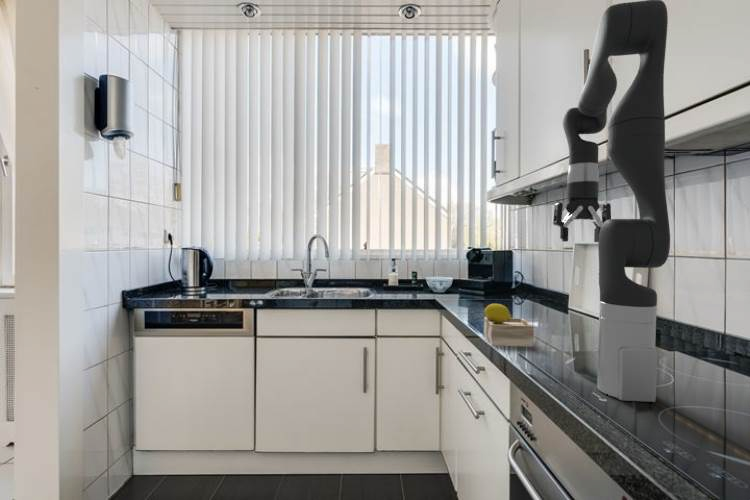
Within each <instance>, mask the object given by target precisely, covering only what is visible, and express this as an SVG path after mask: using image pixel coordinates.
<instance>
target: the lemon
mask: <svg viewBox="0 0 750 500" xmlns="http://www.w3.org/2000/svg"><path fill="white" fill-rule="evenodd" d="M483 311H484V315H485V317H487V318H488V319H489V320H491V321H493V322H496V323H504V322H506V321H507V320H508V319H510V318H512V315H511V313H510V311H509V309H508V307H507V306H505V305H503V304H500V303H491V304H488V305H487V306H486V307H485V308H484V310H483Z"/></svg>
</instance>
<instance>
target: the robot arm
mask: <svg viewBox="0 0 750 500" xmlns="http://www.w3.org/2000/svg"><path fill="white" fill-rule="evenodd" d="M668 18H669V17H668V8H667V5H666V4H665V2H664V1H663V0H640V1H631V2H622V3H617V4H613V5H610V6H609V7H608V8H606V10H605V11H604V13H603V15H602V16H601V18H600V21H599V24H598V27H597V31H596V35H595V38H594V42H593V43H594V44H593V48H592V52H591V57H590V61H589V66H588V67H589V68H588V71H587V76H586V79H585V83H584V85H583V88H582V90H581V92H580V94H579V95H580V96H579V97H578V99H577V107H571V108H568V110H566V111H565V113H564V115H563V117H562V126H563V127H562V129H563V131H564V135H565V138H566V141H567V146H568V169H567V170H568V171H567V178H566V182H567V187H566V188H567V190H566V191H567V192H566V198H567V200H566V203H563V202H557V203H555V204H554V209H553V210H554V211H553V221H552V223H553V226H558V227H559V228H560V230H559V231H560V233H559V235H560V236H559V238H560V240H561V241H562V242H566V243H567V242H568V241H569V227H568V226H569V225H570V224H571V223H572V222H574V220H583V221H584V220H588V221H589V222H590V223H592V225H593V226H594V227H595V228H594V233H593V235H594V237H593V240H594V241H593V242H594V243H598V245H597V246H598V247H597V248H598V284H599V285H598V287H599V312H598V314H599V315H598V316H599V317H598V341H597V343H598V346H597V380H596V381H597V382H596V383H597V385H596V388H597V390H599V391H600V392H602V393H603V394H605V395H607V394H608V396H610V397H614V398H616V399H617V400H619V401H627V402H630V401H632V402H648V403H649V402H652V403H656V401H657V398H656V397H657V373H658V372H657V371H658V370H657V369H658V368H657V367H658V350H657V349H656V336H657V335H656V331H657V308H658V307H657V305H658V294H657V291H656V290H655V289H653V288H651V287H648V286H645V285H642V284H639V283H637V282H635V281H633V280H632V279H630V278H629V277H628V276H627V275H626V268H639V269H641V268H644V269H656V268H660V267H663V265H664V264H666V262H667V260H668V257H669V255H670V249H671V230H670V220H669V212H668V202H667V194H666V183H665V181H666V180H665V176H666V175H665V149H666V147H665V145H666V119H665V118H666V116H665V100H664V99H665V96H664V92H665V91H664V90H665V88H664V86H665V85H664V84H665V83H664V79H665V78H664V74H665V63H666V62H665V60H666V50H667V36H668V23H669V21H668V20H669V19H668ZM631 55H639V66H638V67H639V68H638V70H637V74H636V75H635V77H634V79H633V81H632V83H631V84H630V86H629V87H628V89H627V91H625V93H624V94H623V95H622V97H621V99H620V100H619V101H618V103H617V104H616V106H615V107H614V109H613V111H612V112H611V114H610V116H609V118H608V116H607V115H608V113H607V111H608V107H609V105H610V103H611V101H612V99H614V98H613V97H614V96H615V94H616V91H617V87H618V79H617V76H616V73H615V71H614V69H613V68H612V66H611V64H610V61H609V58H610V57H617V56H631ZM607 119H608V120H607ZM606 126H607V153H608V156H609V159H610V160H611V163H612V164H613V166H614V167H615V169H616V171H618V173H619V174H620V176H621V177H622V178H623V179H624V181H625V182H626V183H627V185H628V186H629V188H630V189H631V191H632V192H633V195H634V197H635V199H636V203H637V208H638V212H639V218H612V206H611V203H608V202H607V203H603V204H602V203H601V204H600V203H599V182H600V171H599V170H600V169H599V145H598V143H596V142H594V141H590V140H584V139H583V138H582V137H581V136H580V135H594V134H598V133H600V132H602V131H603V130H604V129H605V127H606ZM565 210H566V211H567V212H568V213H567V214H566V215H565V217H564V219H563V220H562V218H563V212H564V211H565ZM598 210H599V211H600V213H601V216H600V215H599V214H598V213H597V212H598Z"/></svg>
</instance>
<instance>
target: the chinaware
mask: <svg viewBox="0 0 750 500" xmlns="http://www.w3.org/2000/svg"><path fill="white" fill-rule="evenodd" d="M425 280H426V283H427V284H426V285H428V287H429V288H430V289H431V290H432V292H434V293H445V292H446V290H449V288H450V287H451V286H452V283H453V280H454V278H453V277H450V276H449V277H447V276H426V277H425Z"/></svg>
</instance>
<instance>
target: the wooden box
mask: <svg viewBox="0 0 750 500" xmlns="http://www.w3.org/2000/svg"><path fill="white" fill-rule="evenodd" d="M483 318H484V319H483V337H484V338H485V339H486V340H487V342H488V343H489V344H490V345H491V346H497V347H498V346H499V347H503V346H504V347H505V346H506V347H530V348H533V347H534V336H535V335H534V331H535V330H534V328H535V326H534V325H532V324H531V323H529V322H528V321H526V320H525V319H524V318H519V317H518V318H517V317H515V318H514V317H511V318H510V319H508V320H507V321H506V322H504V323H496V322H493V321H491V320H489V319H488V318H487V317H486V316H484V317H483Z"/></svg>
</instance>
